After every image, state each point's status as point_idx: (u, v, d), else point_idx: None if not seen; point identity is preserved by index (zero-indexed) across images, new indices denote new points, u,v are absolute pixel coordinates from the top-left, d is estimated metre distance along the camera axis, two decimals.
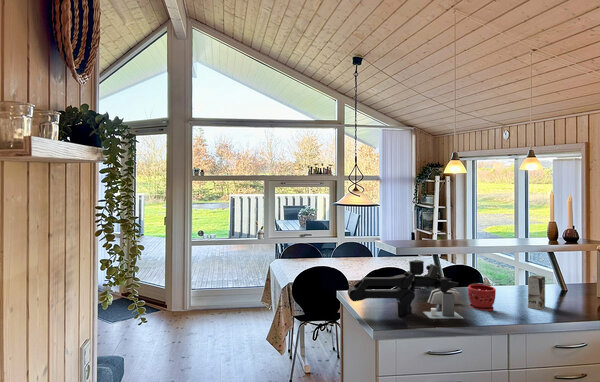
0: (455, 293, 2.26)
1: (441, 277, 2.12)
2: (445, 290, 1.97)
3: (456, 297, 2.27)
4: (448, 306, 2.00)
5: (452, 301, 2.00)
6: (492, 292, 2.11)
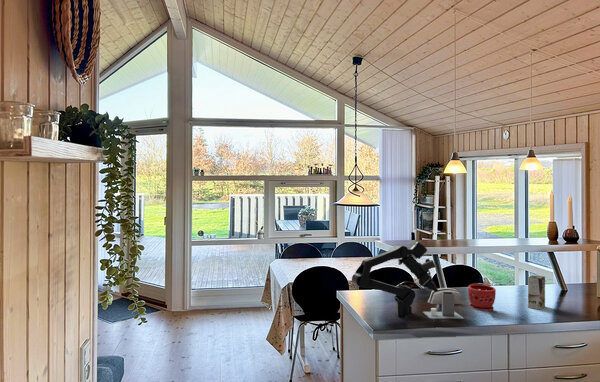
0: (455, 293, 2.26)
1: None
2: (422, 283, 1.97)
3: (456, 297, 2.27)
4: (448, 306, 2.00)
5: (452, 301, 2.00)
6: (492, 292, 2.11)
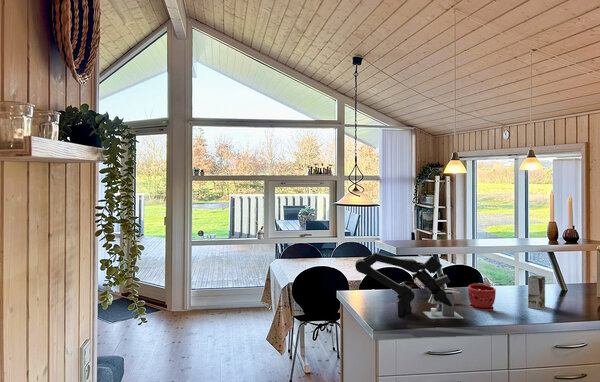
0: (456, 293, 2.26)
1: None
2: (436, 299, 1.95)
3: (457, 297, 2.27)
4: (448, 306, 2.00)
5: (452, 301, 2.00)
6: (492, 292, 2.11)
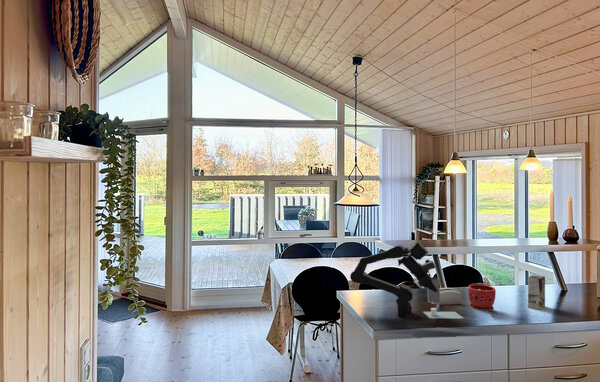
0: (456, 293, 2.26)
1: None
2: (421, 284, 1.95)
3: (457, 297, 2.27)
4: (433, 291, 2.00)
5: (437, 286, 2.00)
6: (492, 292, 2.11)
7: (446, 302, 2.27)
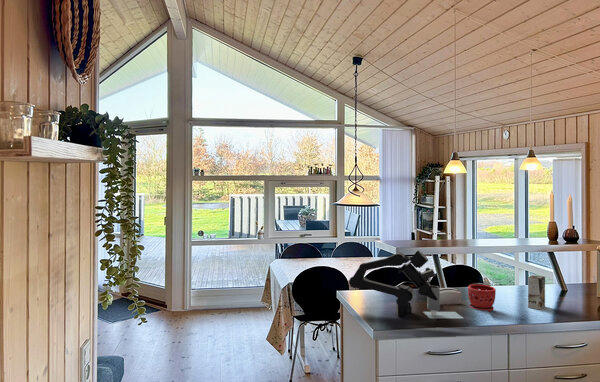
0: (456, 293, 2.26)
1: None
2: (421, 293, 1.95)
3: (457, 297, 2.27)
4: (433, 300, 2.00)
5: (437, 295, 2.00)
6: (492, 292, 2.11)
7: (446, 302, 2.27)
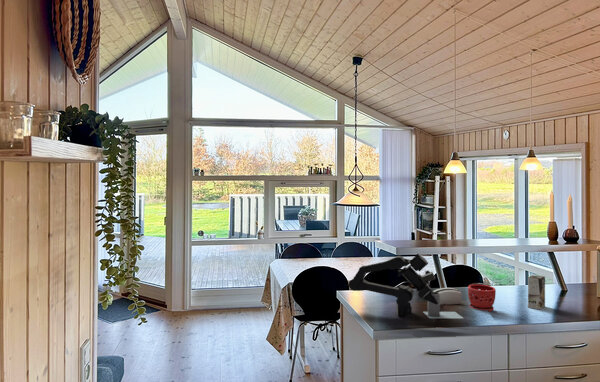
0: (456, 293, 2.26)
1: None
2: (421, 296, 1.95)
3: (457, 297, 2.27)
4: (433, 306, 2.00)
5: (437, 301, 1.99)
6: (492, 292, 2.11)
7: (446, 302, 2.27)
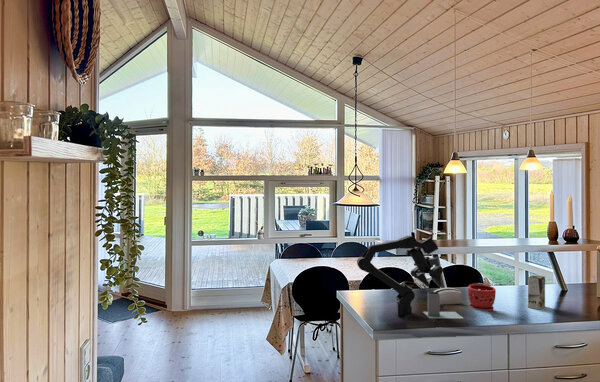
0: (457, 293, 2.27)
1: (424, 276, 2.12)
2: (436, 275, 1.97)
3: (458, 297, 2.28)
4: (433, 306, 2.00)
5: (437, 301, 1.99)
6: (492, 292, 2.11)
7: (447, 302, 2.28)
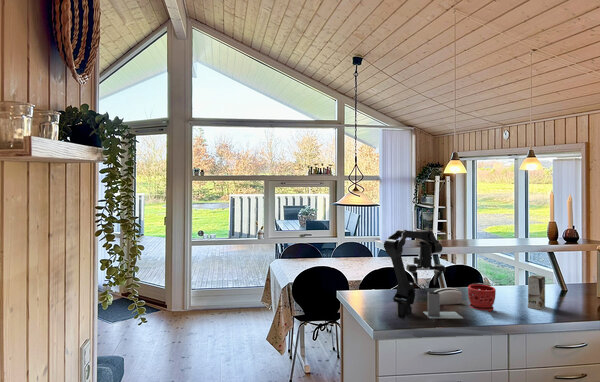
0: (457, 293, 2.27)
1: None
2: None
3: (458, 297, 2.28)
4: (433, 306, 2.00)
5: (437, 301, 1.99)
6: (492, 292, 2.11)
7: (447, 302, 2.28)
